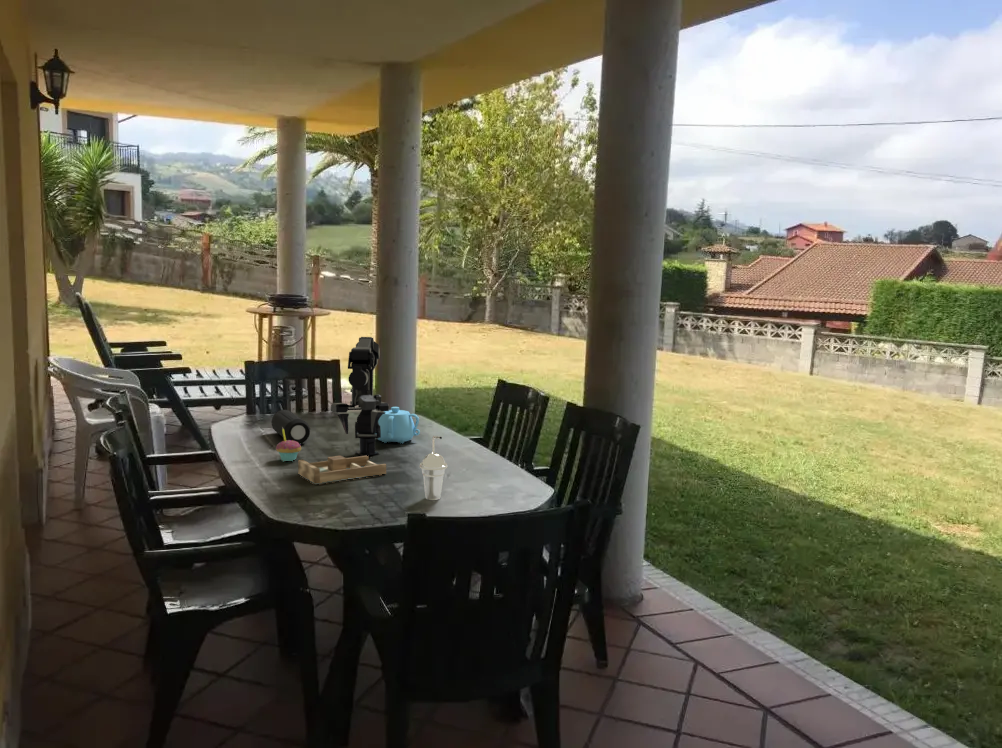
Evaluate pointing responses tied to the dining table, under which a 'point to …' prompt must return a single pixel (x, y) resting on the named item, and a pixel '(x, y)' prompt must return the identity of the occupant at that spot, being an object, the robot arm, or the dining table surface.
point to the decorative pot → (397, 426)
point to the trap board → (321, 473)
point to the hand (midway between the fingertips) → (359, 433)
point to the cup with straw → (433, 473)
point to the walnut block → (336, 463)
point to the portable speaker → (290, 426)
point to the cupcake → (288, 449)
